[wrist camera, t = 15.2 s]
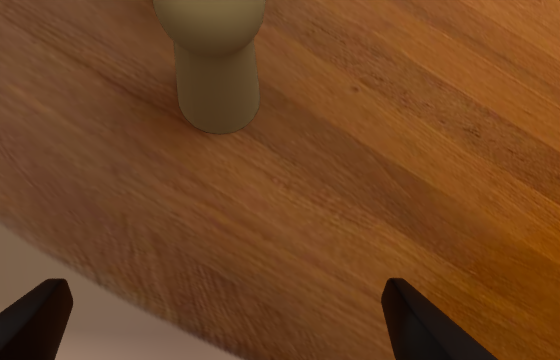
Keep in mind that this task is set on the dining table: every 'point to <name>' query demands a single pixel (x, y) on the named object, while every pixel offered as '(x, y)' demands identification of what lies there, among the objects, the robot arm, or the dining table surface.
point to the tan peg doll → (214, 59)
